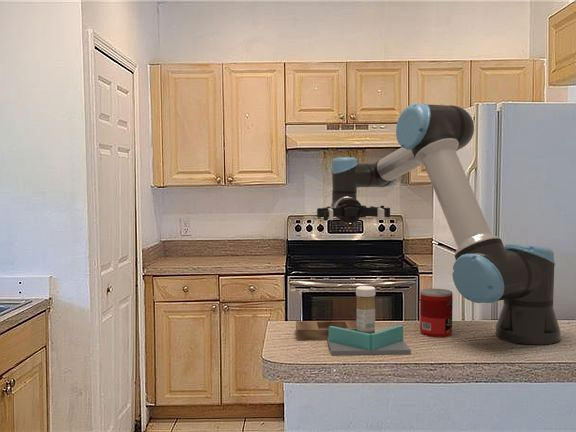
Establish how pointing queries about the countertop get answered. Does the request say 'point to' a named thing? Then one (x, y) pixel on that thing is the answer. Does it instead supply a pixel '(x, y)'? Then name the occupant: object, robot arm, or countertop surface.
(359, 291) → the sprinkles bottle
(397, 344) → the v cradle
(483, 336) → the countertop surface
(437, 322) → the canned food
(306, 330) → the brown hollow frame
